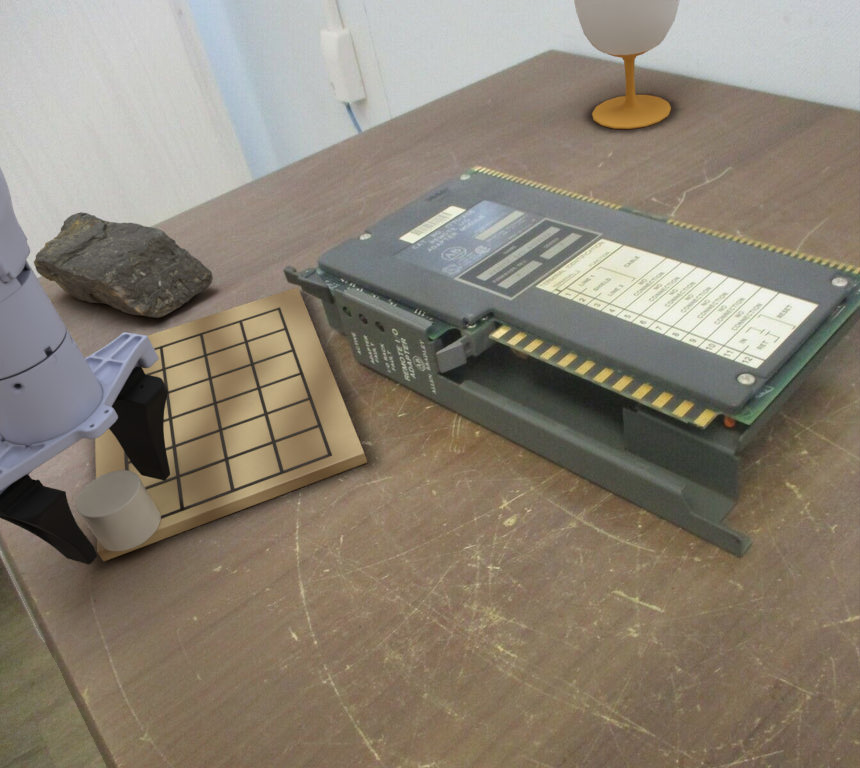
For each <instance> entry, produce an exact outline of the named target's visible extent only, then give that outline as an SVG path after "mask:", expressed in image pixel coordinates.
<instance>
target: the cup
mask: <svg viewBox="0 0 860 768" xmlns="http://www.w3.org/2000/svg"><path fill="white" fill-rule="evenodd" d="M573 2H574V6H575V13H576V15H577V18H578V21H579V25H580V27H581V30H582V32H583V35H584V36H585V38H586V39H587V40H588V42H589V43H590V45H591V46H592V47H593V48H595V50H597V51H599V52H601V53H603V54H606V55H609V56H612V57H615V58H621V59H622V60H623V65H624V75H625V77H624V78H625V95H621V96H617V97H613V98H610V99H607V100H605V101H603V102H602V103H599V104H598V105H596V106H595V108H594V109H593V111H592V113H591V116H592V118H593V119H592V120H593V121H594V122H595V123H597V124H599V125H600V126H601V127H606V128H609V129H615V130H634V129H639V128H640V129H641V128H646V127H649V126H652V125H655V124H658V123H660V122H662V121H663V120H664V119H666V118H667V117H669V115H670V112H671V110H672V107H671V105H670V103H669V101H667V100H665V99H663V98H662V97H660V96H655V95H649V94H636V85H635V62H636V61H635V60H636V58H637V57H638V56H641V55H644V54H646V53H647V52H649V51H652V50H653V49H655V48H656V47H658V46H659V45H661V44H662V43H663V41H664V40H665V38H666V37H667V34H668V33H669V31H670V29H671V28H672V26H673V24H674V22H675V20H676V16H677V12H678V9H679V5H680V0H573Z"/></svg>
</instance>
